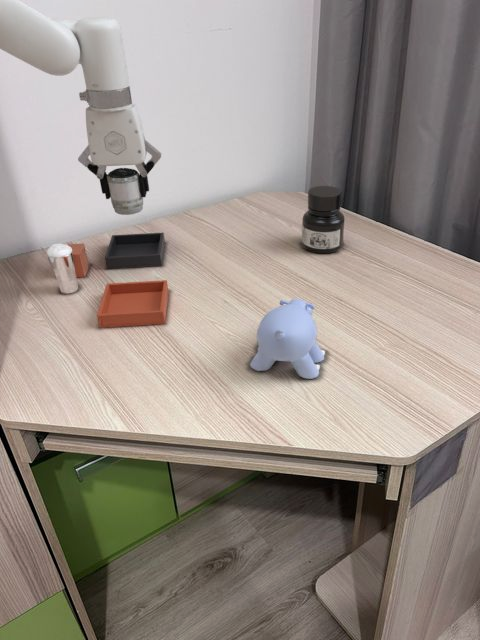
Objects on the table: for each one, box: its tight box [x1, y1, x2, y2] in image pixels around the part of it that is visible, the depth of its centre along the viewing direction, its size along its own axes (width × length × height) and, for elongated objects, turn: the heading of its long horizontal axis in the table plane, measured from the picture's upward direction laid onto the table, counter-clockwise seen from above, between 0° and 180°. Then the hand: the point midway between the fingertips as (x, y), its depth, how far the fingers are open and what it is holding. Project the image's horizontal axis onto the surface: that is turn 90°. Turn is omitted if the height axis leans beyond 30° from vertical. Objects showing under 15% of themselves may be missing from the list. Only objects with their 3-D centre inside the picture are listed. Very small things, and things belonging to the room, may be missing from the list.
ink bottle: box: [301, 185, 345, 254], centre depth 114 cm, size 10×9×12 cm
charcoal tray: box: [104, 232, 166, 270], centre depth 114 cm, size 11×11×2 cm
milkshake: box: [40, 243, 79, 295], centre depth 100 cm, size 4×5×10 cm
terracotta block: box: [65, 243, 90, 278], centre depth 108 cm, size 5×5×5 cm
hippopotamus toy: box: [249, 298, 326, 380], centre depth 82 cm, size 11×15×10 cm
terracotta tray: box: [96, 279, 170, 329], centre depth 97 cm, size 11×11×2 cm
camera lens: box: [107, 167, 144, 216], centre depth 107 cm, size 6×6×8 cm
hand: (126, 195), depth 107 cm, fingers closed on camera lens, 6 cm apart
